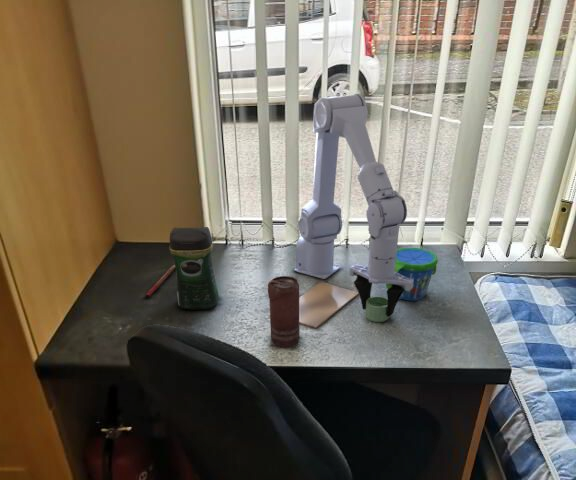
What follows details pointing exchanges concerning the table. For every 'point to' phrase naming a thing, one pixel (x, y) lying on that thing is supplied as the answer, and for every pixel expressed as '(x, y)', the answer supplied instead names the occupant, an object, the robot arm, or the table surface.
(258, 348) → the table surface
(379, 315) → the bowl
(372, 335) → the table surface
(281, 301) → the can
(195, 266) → the coffee jar
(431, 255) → the snack cup
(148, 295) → the pencil
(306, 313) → the mat
